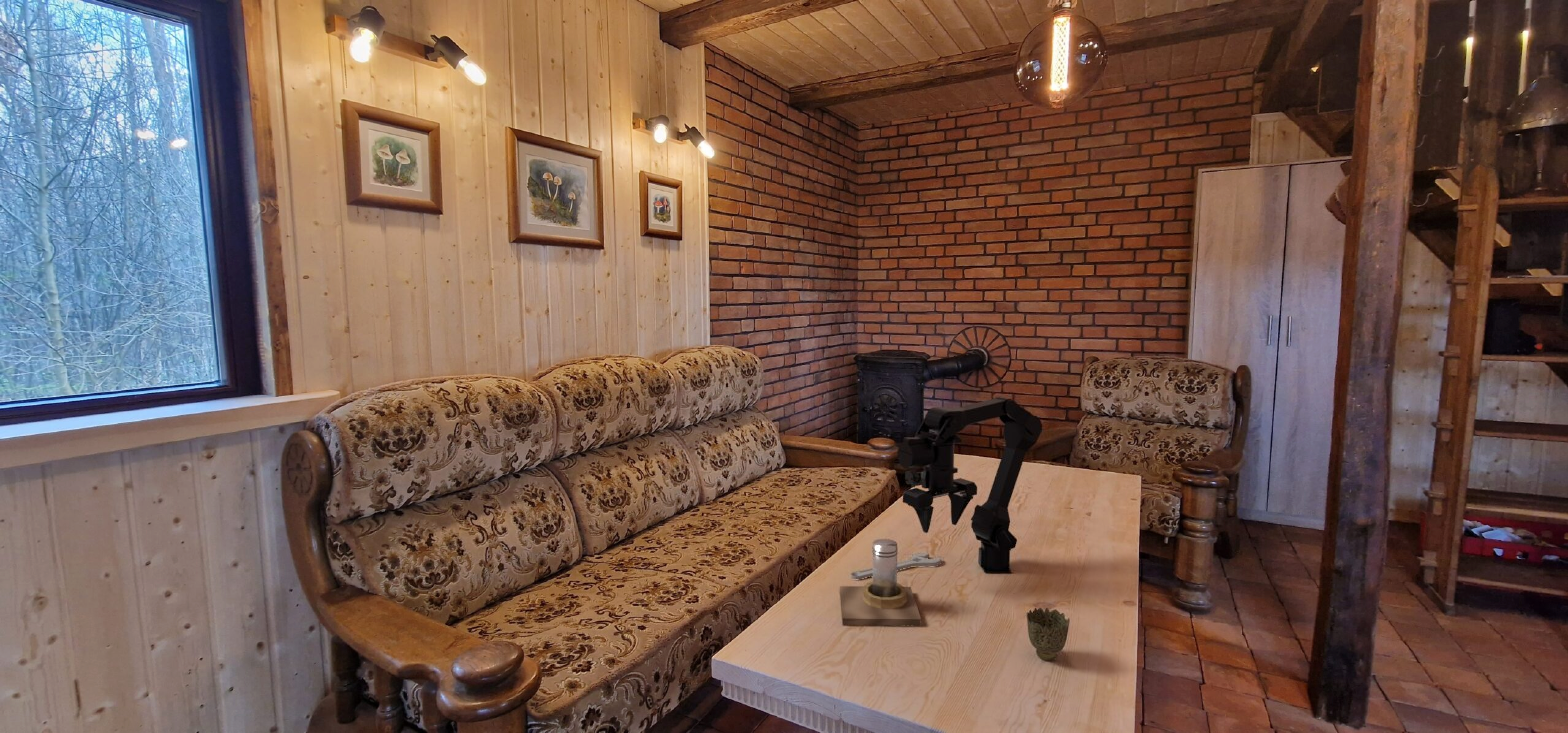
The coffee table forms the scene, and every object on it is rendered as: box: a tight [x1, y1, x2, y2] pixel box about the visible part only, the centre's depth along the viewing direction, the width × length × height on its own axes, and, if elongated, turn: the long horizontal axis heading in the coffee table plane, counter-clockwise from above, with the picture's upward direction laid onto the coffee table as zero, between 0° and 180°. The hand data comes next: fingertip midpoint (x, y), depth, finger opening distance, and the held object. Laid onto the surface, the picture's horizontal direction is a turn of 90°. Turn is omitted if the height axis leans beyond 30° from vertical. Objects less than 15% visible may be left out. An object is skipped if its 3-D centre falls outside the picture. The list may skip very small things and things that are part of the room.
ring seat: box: [839, 581, 922, 627], centre depth 146 cm, size 16×15×4 cm
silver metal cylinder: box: [871, 538, 899, 598], centre depth 146 cm, size 5×5×12 cm
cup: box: [1026, 607, 1071, 662], centre depth 126 cm, size 8×7×8 cm
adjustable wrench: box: [849, 552, 942, 580], centre depth 166 cm, size 25×6×2 cm, turn 110°
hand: (939, 528), depth 157 cm, fingers open, 9 cm apart
